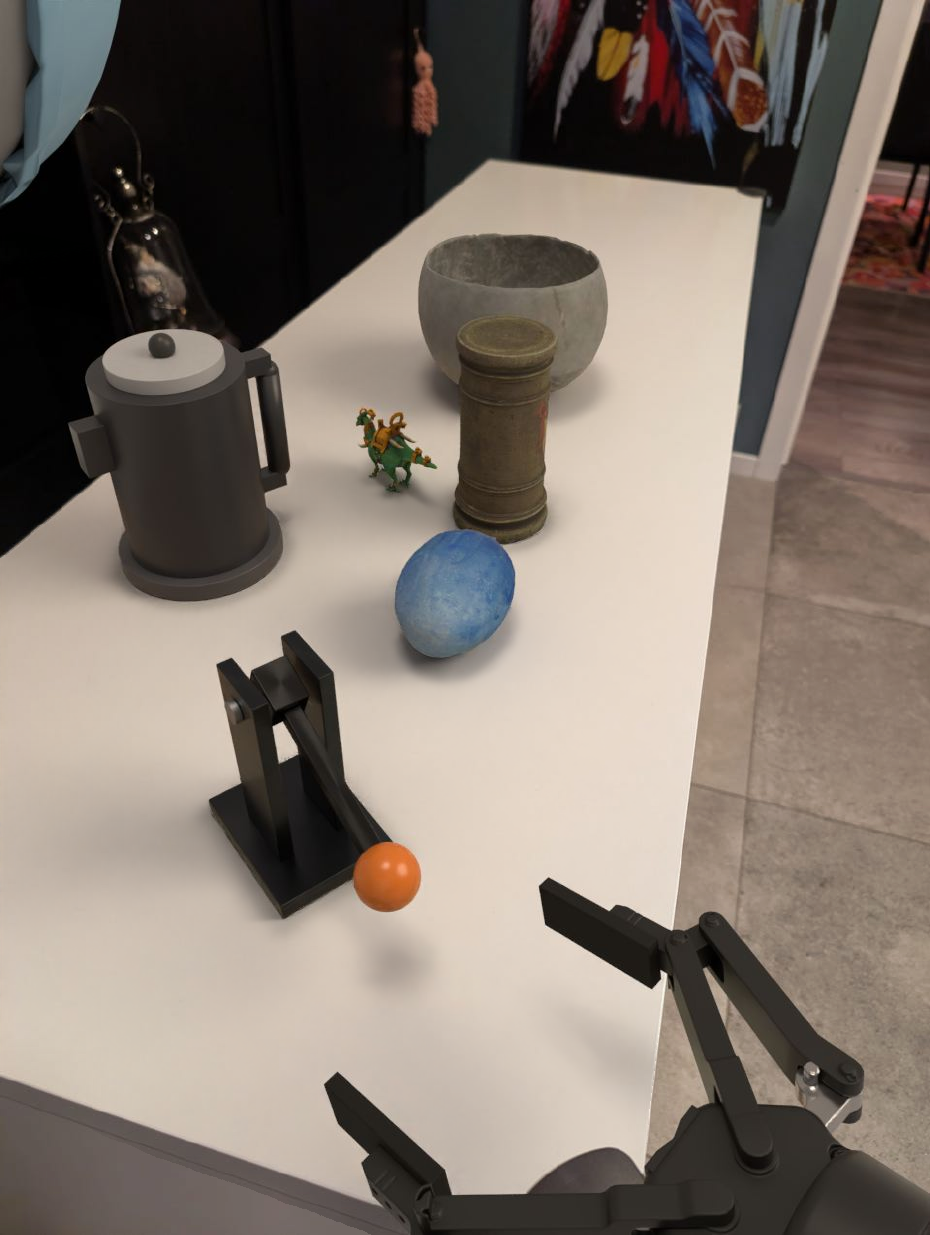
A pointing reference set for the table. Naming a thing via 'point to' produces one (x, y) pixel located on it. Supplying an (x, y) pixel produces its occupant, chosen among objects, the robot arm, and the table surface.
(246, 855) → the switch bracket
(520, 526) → the container
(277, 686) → the switch
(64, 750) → the table surface
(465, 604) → the egg
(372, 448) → the figurine
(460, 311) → the bowl
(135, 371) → the kettle
